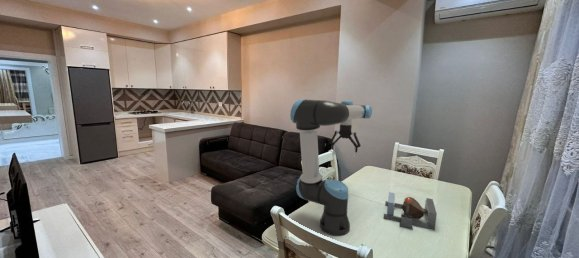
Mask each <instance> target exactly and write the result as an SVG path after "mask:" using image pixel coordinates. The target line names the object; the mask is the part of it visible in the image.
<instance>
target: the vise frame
mask: <svg viewBox="0 0 579 258" xmlns="http://www.w3.org/2000/svg"><path fill="white" fill-rule="evenodd" d="M384 205H385V206H386V207H387V206H388V200H385V204H384ZM402 205H403V203H399V202H395V205H394V209H400V210H402V208H401V207H402ZM423 209H424V211H425V214H424V215H425V221H426V222H425V221H420V220H416V219H412V216H408V217H409V218H406V217H405V216H406V215H403V213H401V216H397V215H388V214H387V213H383V218H382V219H383V220H388V221H392V222H396V223H399V228H402V229H407V230H410V231H413V226H414V227H419V228H423V229H427V230H431V231H436V230H435V229H436V221H437V214H438V213H437V210H436V207H435V203H434V200H433V198H429V197H426V198H425V202H424V208H423Z"/></svg>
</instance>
